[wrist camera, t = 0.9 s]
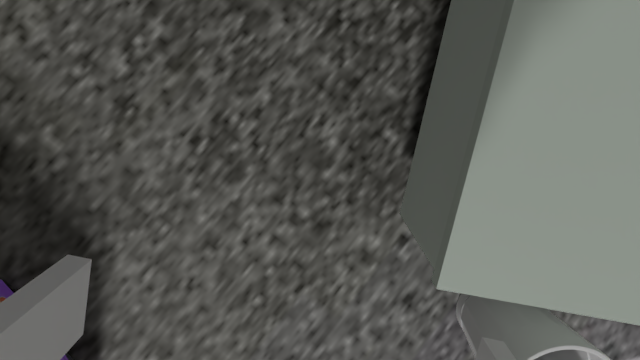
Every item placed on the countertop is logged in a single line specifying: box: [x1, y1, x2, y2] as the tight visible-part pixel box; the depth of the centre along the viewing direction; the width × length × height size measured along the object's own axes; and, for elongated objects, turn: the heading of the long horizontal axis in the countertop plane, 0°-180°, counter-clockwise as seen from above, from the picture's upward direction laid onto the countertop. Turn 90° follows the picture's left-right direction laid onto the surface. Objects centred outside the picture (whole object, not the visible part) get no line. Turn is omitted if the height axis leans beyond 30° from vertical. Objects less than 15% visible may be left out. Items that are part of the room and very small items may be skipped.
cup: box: [456, 293, 611, 360], centre depth 34 cm, size 8×8×12 cm
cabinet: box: [400, 0, 640, 325], centre depth 29 cm, size 18×21×16 cm
